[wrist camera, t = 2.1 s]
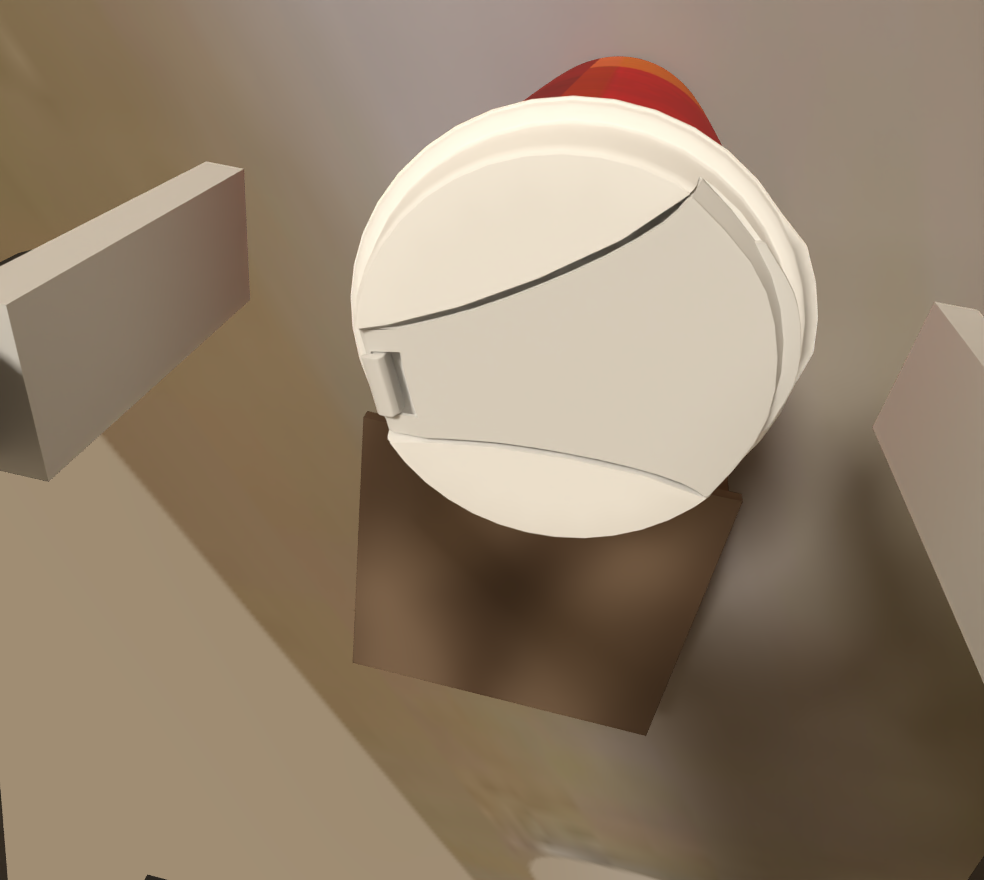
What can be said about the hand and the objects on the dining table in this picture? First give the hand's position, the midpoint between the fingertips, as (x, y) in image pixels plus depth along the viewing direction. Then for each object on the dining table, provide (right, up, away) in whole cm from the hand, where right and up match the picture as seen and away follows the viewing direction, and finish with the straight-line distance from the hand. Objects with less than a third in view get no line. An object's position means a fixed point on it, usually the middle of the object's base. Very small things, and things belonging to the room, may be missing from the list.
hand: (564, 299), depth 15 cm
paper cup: (+2, +6, +9) cm, 11 cm away
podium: (0, -6, +17) cm, 18 cm away
